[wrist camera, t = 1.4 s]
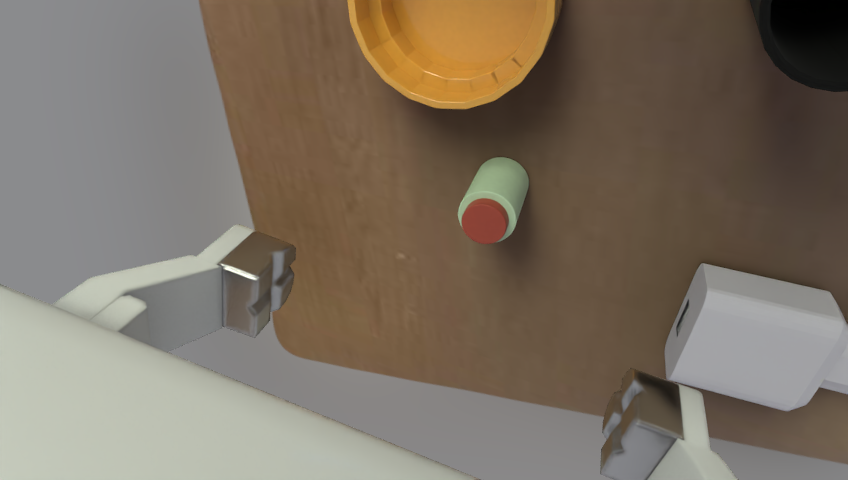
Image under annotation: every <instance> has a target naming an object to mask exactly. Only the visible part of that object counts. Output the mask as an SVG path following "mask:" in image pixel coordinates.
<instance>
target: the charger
mask: <svg viewBox="0 0 848 480" xmlns="http://www.w3.org/2000/svg"><path fill="white" fill-rule="evenodd" d="M665 366H666V378H667V380H671V381H675V382H679V383H682V384H686V385H690V386H694V387H697V388H701V389H705V390H709V391H712V392H716V393H720V394H723V395H727V396H731V397H735V398H738V399H742V400H746V401H750V402H753V403H757V404H761V405H765V406H768V407H772V408H776V409H779V410H783V411H790V410H793V409H796V408H799V407H801V406H804V405H806V404H807V403H808V402H809V401H810V400H811V398H812V397H813V395H814V394H815V392H816V391H817V389H818V388H819V387H821V388H825V389H829V390H833V391H837V392H841V393H845V394H848V325H847V323H846V321H845V318H844V316H843V314H842V312H841V310H840V308H839V306H838V304H837V303H836V301H835V299H834V298H833V296H832V294H831V293H830V292H829V291H825V290H820V289H816V288H811V287H807V286H802V285H798V284H793V283H789V282H785V281H780V280H776V279H771V278H767V277H762V276H758V275H753V274H749V273H744V272H740V271H735V270H731V269H727V268H722V267H718V266H713V265H709V264H704V263H702V264H701V265H700V266H699V267H698V269H697V271H696V273H695V275H694V278H693V280H692V282H691V285H690V287H689V289H688V292H687V294H686V296H685V298H684V301H683V303H682V305H681V308H680V310H679V312H678V315H677V317H676V319H675V322H674V324H673V326H672V329H671V331H670V333H669V336H668V339H667V342H666V346H665Z"/></svg>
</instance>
